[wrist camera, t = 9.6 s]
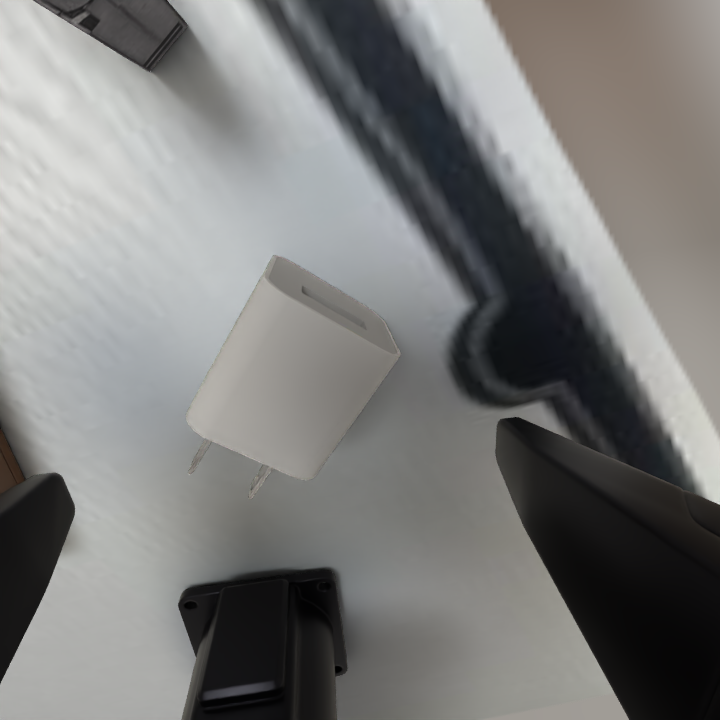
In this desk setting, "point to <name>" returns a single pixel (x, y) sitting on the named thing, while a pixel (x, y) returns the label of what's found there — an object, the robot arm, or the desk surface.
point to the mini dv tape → (124, 25)
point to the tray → (8, 467)
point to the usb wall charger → (292, 374)
